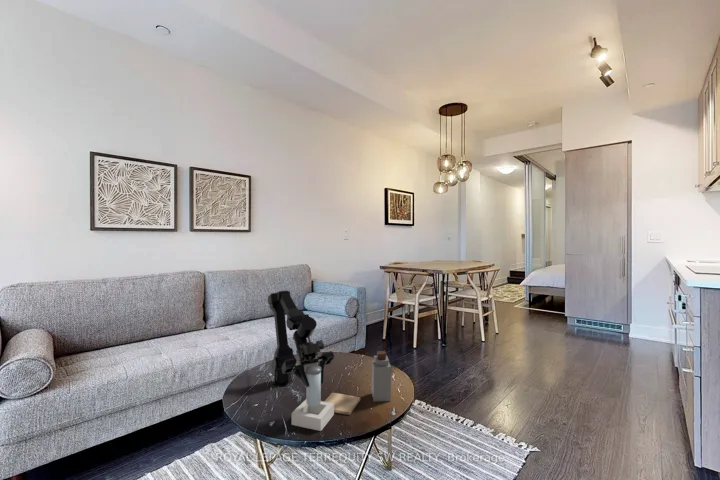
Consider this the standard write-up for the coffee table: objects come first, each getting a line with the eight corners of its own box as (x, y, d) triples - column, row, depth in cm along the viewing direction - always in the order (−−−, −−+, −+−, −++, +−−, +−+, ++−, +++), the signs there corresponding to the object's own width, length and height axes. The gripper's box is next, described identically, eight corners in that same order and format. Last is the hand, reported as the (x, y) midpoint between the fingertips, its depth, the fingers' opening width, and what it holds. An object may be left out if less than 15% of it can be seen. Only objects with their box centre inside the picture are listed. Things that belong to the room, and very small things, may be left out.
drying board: (319, 409, 127) (319, 406, 127) (332, 394, 138) (332, 392, 138) (349, 415, 123) (349, 412, 123) (360, 399, 134) (360, 397, 134)
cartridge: (303, 404, 118) (303, 369, 118) (310, 397, 123) (310, 364, 123) (316, 406, 117) (317, 372, 116) (323, 399, 121) (323, 366, 121)
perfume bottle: (371, 393, 140) (372, 349, 140) (387, 392, 141) (388, 349, 140) (373, 401, 133) (374, 355, 133) (390, 401, 134) (391, 355, 133)
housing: (291, 424, 117) (291, 413, 116) (306, 409, 127) (306, 398, 127) (320, 431, 113) (320, 419, 113) (333, 414, 123) (334, 403, 123)
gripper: (284, 337, 118) (295, 380, 109) (332, 329, 128) (346, 369, 118) (277, 352, 125) (287, 395, 116) (323, 344, 134) (336, 382, 125)
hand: (315, 385), depth 119 cm, fingers closed on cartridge, 5 cm apart
